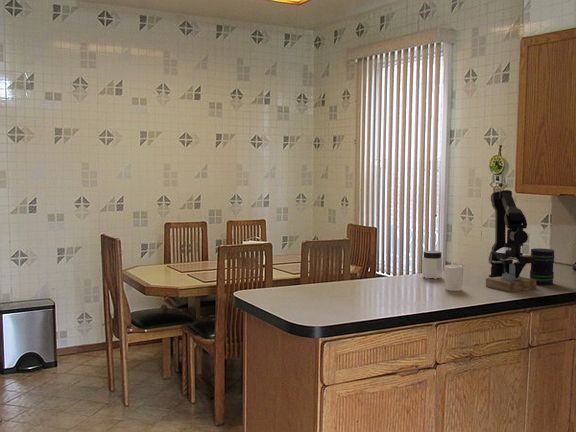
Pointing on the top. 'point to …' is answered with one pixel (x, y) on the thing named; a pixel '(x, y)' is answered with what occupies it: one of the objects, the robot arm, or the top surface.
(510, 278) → the grey stepped block
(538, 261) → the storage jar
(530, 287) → the well block
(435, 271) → the jar
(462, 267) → the white cup
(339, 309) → the top surface
